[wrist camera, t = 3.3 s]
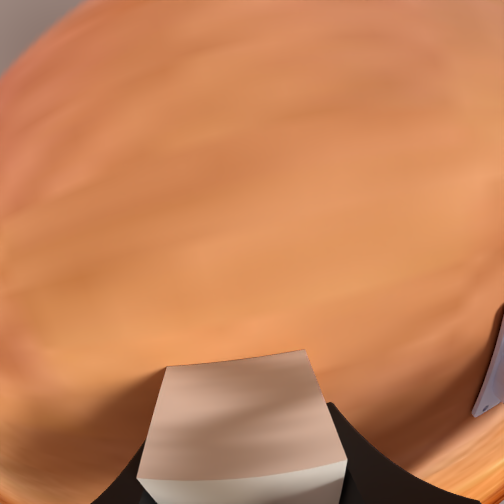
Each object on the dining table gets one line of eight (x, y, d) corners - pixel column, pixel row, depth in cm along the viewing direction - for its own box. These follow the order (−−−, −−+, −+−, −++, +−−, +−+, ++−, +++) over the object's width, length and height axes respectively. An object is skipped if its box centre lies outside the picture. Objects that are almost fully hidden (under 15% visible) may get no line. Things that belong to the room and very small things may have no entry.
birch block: (304, 349, 10) (347, 459, 5) (308, 434, 11) (333, 525, 7) (166, 366, 10) (136, 477, 5) (198, 447, 11) (192, 539, 6)
